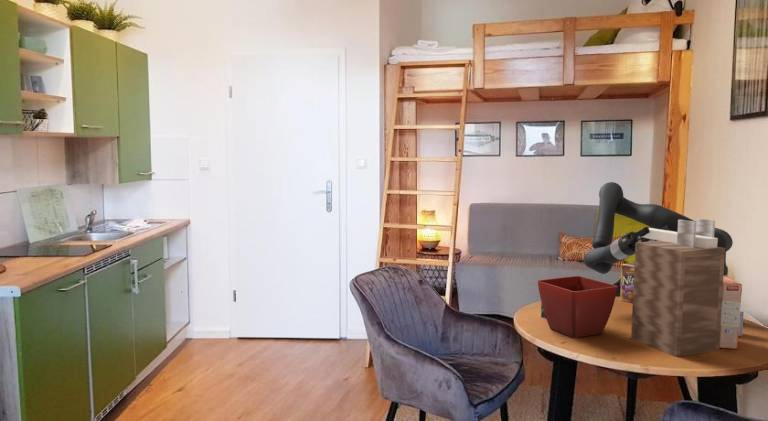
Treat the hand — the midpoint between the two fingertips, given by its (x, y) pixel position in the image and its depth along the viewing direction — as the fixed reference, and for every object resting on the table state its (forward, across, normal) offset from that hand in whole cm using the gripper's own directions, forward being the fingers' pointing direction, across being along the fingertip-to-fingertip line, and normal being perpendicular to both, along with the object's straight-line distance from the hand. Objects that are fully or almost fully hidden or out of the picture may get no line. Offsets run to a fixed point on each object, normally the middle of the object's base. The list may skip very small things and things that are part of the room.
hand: (658, 228), depth 196 cm
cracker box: (-4, +11, +39) cm, 41 cm away
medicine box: (-8, +22, +36) cm, 43 cm away
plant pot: (-26, -25, +26) cm, 45 cm away
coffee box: (-41, -22, +18) cm, 50 cm away
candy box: (-47, +23, +14) cm, 54 cm away
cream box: (+5, 0, +7) cm, 9 cm away
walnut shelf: (-7, -4, +37) cm, 38 cm away
